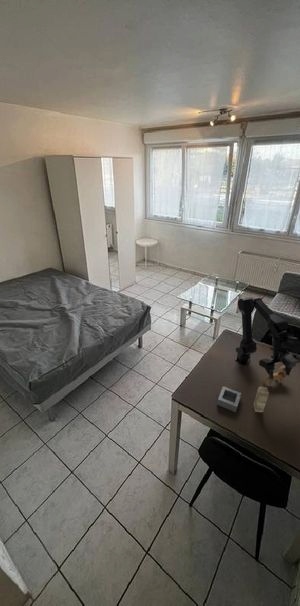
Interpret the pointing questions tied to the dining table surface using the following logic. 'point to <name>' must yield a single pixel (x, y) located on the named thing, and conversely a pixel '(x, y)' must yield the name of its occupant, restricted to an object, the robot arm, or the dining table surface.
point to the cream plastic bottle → (260, 399)
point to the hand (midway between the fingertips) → (279, 377)
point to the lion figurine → (277, 376)
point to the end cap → (229, 399)
